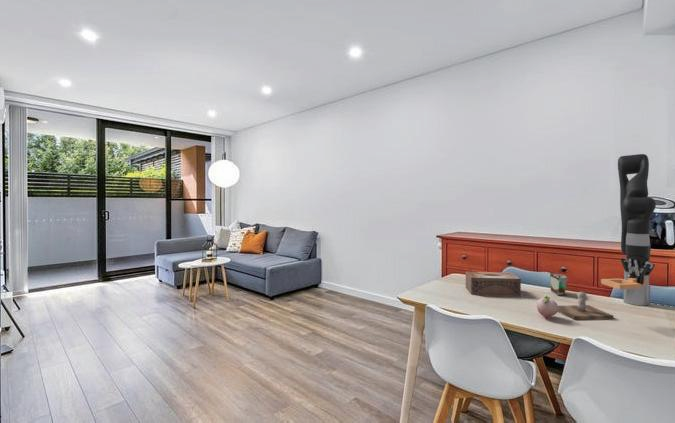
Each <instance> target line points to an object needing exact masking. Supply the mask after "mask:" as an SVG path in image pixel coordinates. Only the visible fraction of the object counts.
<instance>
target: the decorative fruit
mask: <svg viewBox="0 0 675 423" xmlns="http://www.w3.org/2000/svg"><path fill="white" fill-rule="evenodd" d="M558 306H559V304H558V303H557V302H556V301H555V300H554V299H552V298H551V297H549V296H547V295H546V296H543V297H541V298H539V299H538V300H537V301H536V309H537V311H538V314H540V315H541V316H542V317H544V318H546V319H547V318H550V317H553V316H555V315H556V314H557V313H559V312H558Z"/></svg>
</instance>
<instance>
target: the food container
mask: <svg viewBox="0 0 675 423" xmlns="http://www.w3.org/2000/svg"><path fill="white" fill-rule="evenodd" d="M549 278H550V280H549V282H550V292H551V293H554V294H555V295H557V296H558V297H561V296H565V295H566V289H567V288H566V287H567V282H568V281H569V280H568V277H567V276H566V275H563V274H561V273H560V274H558V273H549Z"/></svg>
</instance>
